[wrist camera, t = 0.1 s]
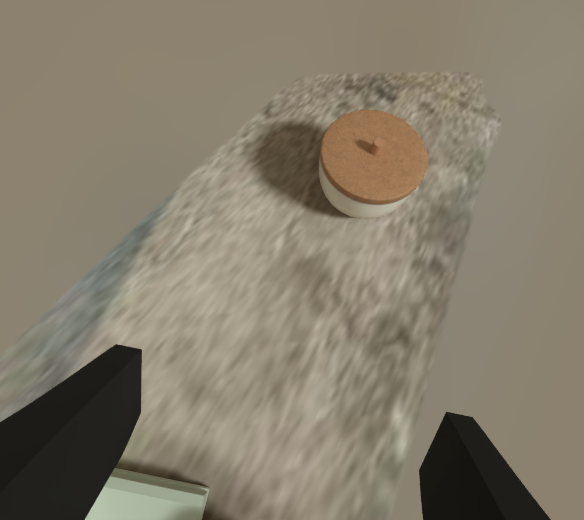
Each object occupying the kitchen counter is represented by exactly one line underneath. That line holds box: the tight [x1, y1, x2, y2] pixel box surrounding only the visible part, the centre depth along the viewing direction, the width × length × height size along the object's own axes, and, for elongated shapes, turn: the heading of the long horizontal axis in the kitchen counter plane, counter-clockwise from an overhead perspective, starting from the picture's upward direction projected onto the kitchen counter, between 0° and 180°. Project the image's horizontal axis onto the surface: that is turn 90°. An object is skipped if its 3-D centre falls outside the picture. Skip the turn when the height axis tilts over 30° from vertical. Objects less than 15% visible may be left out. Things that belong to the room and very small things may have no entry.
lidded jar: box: [319, 110, 427, 219], centre depth 45 cm, size 11×11×9 cm
